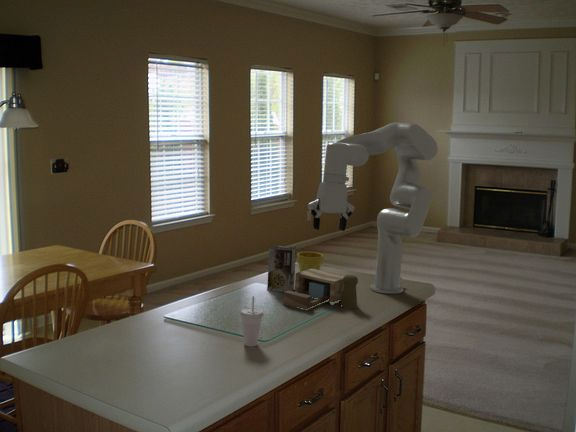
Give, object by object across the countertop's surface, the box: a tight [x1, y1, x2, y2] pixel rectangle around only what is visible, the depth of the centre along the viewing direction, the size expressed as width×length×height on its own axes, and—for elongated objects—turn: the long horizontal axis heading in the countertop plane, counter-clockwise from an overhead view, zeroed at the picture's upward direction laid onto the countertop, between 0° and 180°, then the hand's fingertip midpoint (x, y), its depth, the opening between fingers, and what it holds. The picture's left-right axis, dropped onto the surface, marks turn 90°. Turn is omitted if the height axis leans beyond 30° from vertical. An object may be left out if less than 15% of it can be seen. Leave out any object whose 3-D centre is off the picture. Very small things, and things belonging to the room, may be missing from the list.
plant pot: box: [296, 251, 324, 272], centre depth 264 cm, size 10×10×10 cm
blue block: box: [309, 280, 331, 299], centre depth 236 cm, size 6×6×6 cm
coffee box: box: [266, 244, 297, 293], centre depth 243 cm, size 9×6×16 cm
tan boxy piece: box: [294, 269, 346, 303], centre depth 236 cm, size 10×16×8 cm, turn 56°
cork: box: [339, 274, 359, 310], centre depth 227 cm, size 6×6×11 cm
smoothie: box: [240, 296, 264, 347], centre depth 184 cm, size 6×6×14 cm
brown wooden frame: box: [282, 290, 330, 309], centre depth 231 cm, size 21×9×4 cm, turn 146°
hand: (329, 229), depth 223 cm, fingers open, 9 cm apart
